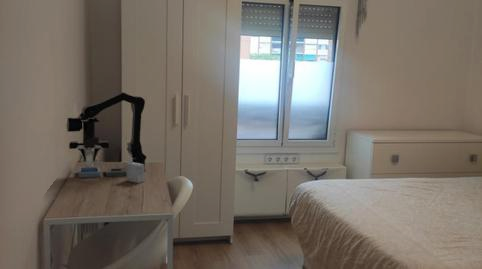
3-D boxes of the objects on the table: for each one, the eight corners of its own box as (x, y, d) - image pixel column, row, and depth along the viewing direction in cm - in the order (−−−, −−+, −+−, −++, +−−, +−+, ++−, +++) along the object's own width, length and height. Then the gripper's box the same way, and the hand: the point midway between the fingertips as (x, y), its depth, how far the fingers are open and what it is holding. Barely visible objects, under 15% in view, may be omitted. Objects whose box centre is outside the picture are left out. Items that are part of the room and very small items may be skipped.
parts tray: (99, 171, 230) (99, 166, 230) (100, 177, 219) (100, 172, 219) (79, 172, 227) (78, 167, 227) (78, 177, 216) (78, 172, 215)
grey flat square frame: (125, 171, 234) (125, 167, 233) (126, 175, 224) (126, 171, 224) (105, 171, 230) (105, 168, 230) (106, 176, 221) (106, 172, 221)
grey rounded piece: (93, 166, 225) (93, 151, 224) (93, 168, 221) (93, 152, 220) (85, 166, 224) (85, 151, 222) (85, 168, 220) (85, 152, 219)
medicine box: (144, 181, 214) (144, 164, 213) (138, 183, 210) (138, 165, 209) (133, 179, 218) (133, 161, 217) (126, 180, 214) (126, 163, 213)
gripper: (68, 133, 209) (69, 165, 211) (109, 133, 215) (109, 164, 218) (69, 130, 220) (69, 160, 222) (108, 130, 226) (108, 159, 228)
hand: (89, 161), depth 222 cm, fingers closed on grey rounded piece, 4 cm apart
